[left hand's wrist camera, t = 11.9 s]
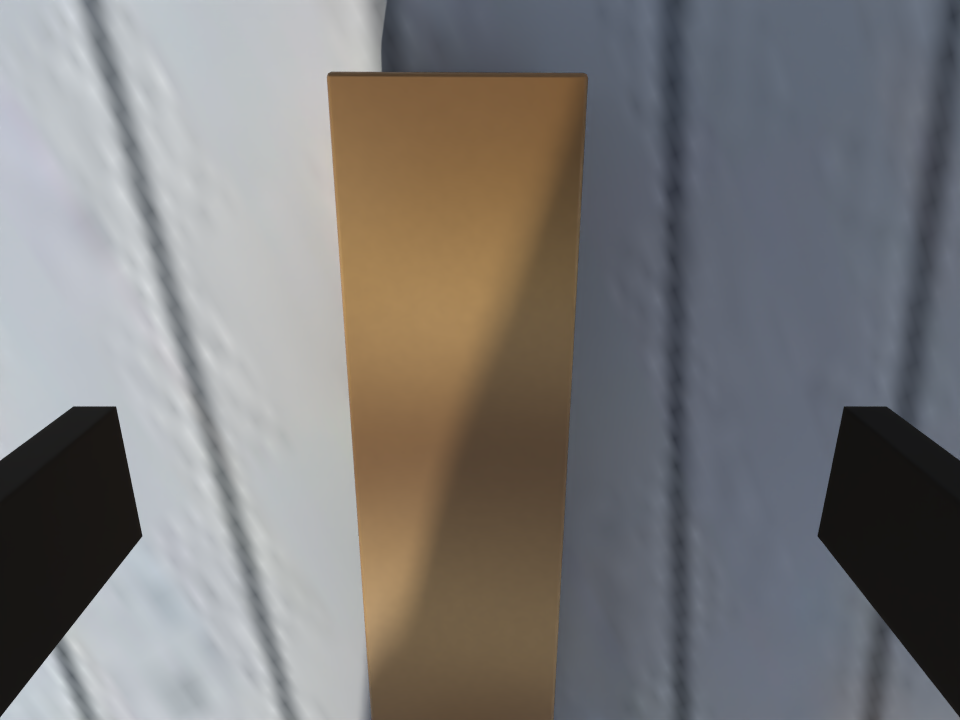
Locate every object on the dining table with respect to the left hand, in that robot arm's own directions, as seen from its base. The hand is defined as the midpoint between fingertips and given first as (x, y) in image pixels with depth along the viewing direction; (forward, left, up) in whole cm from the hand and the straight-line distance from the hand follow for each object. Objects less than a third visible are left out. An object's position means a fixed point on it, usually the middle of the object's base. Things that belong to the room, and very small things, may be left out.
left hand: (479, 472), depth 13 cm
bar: (-2, +27, -10) cm, 29 cm away
